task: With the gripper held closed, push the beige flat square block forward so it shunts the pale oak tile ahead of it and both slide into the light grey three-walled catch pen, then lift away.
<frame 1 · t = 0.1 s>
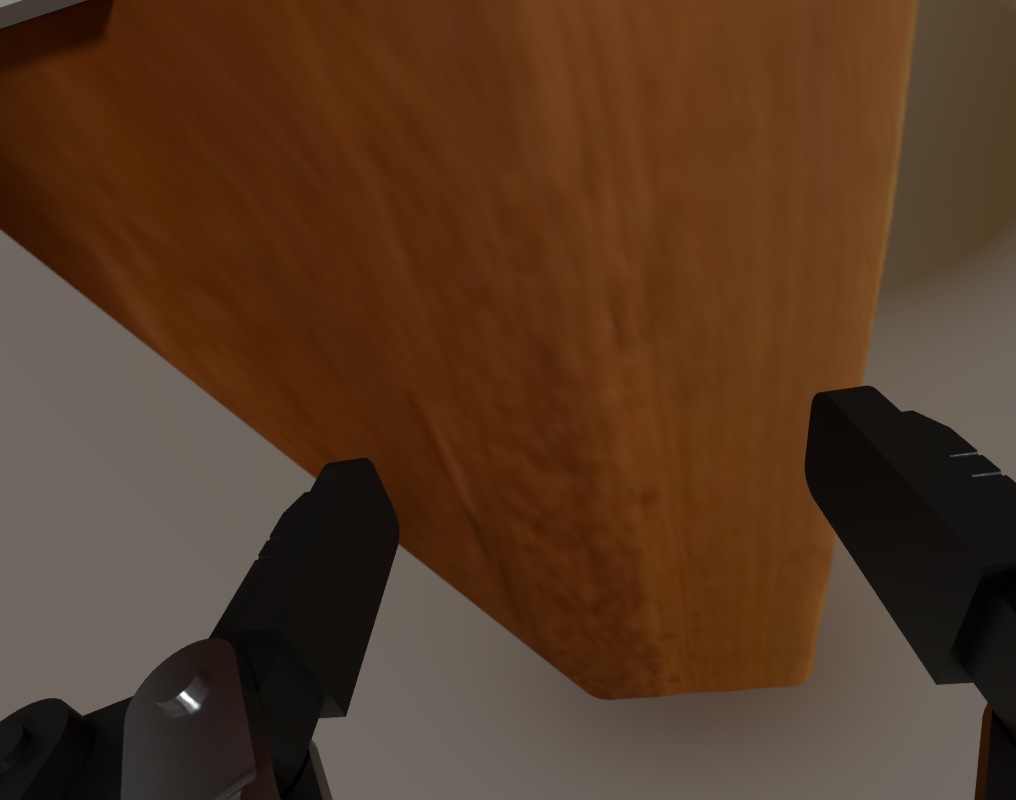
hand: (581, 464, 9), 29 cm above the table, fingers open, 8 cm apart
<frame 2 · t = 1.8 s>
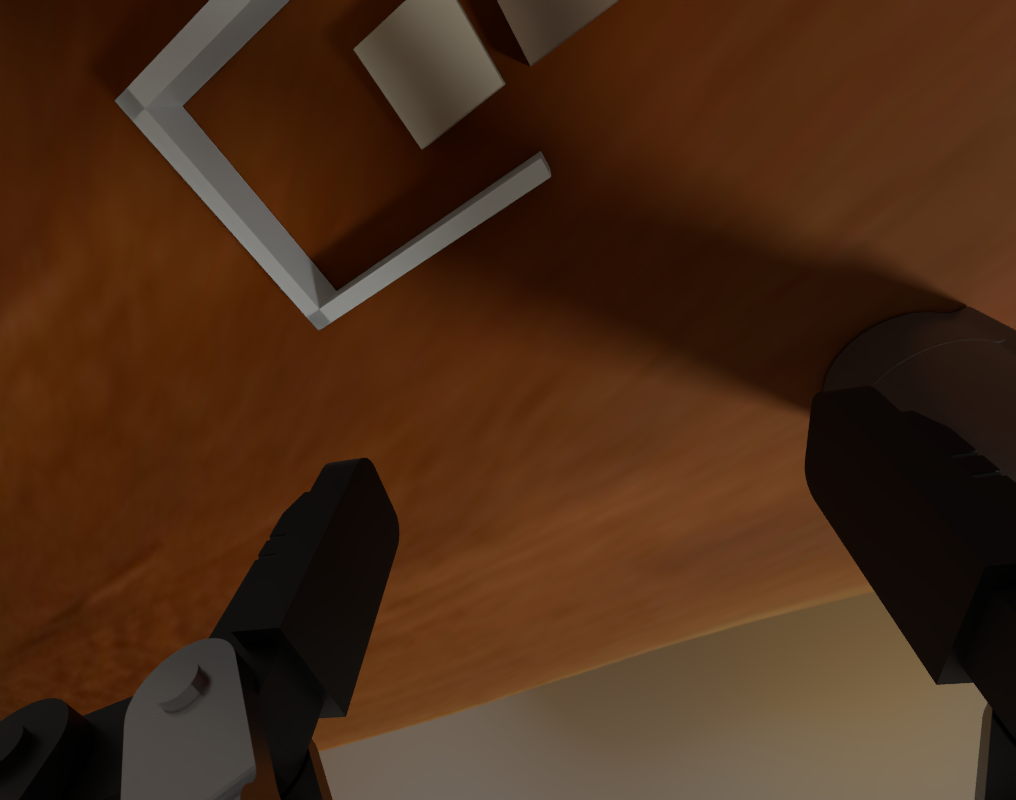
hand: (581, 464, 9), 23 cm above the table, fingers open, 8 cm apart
catch pen: (355, 134, 27), on the table
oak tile: (438, 68, 25), on the table
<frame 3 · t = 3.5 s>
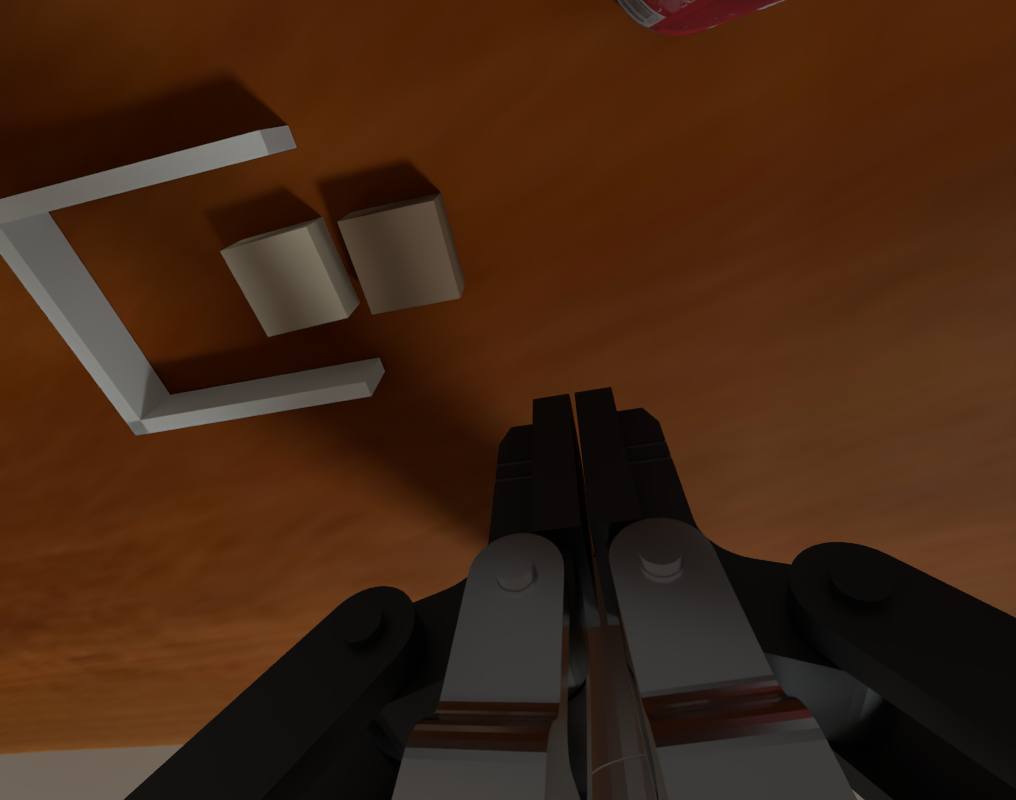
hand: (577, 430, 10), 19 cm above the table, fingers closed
beige flat square block: (411, 247, 28), on the table
catch pen: (216, 290, 29), on the table
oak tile: (304, 270, 29), on the table
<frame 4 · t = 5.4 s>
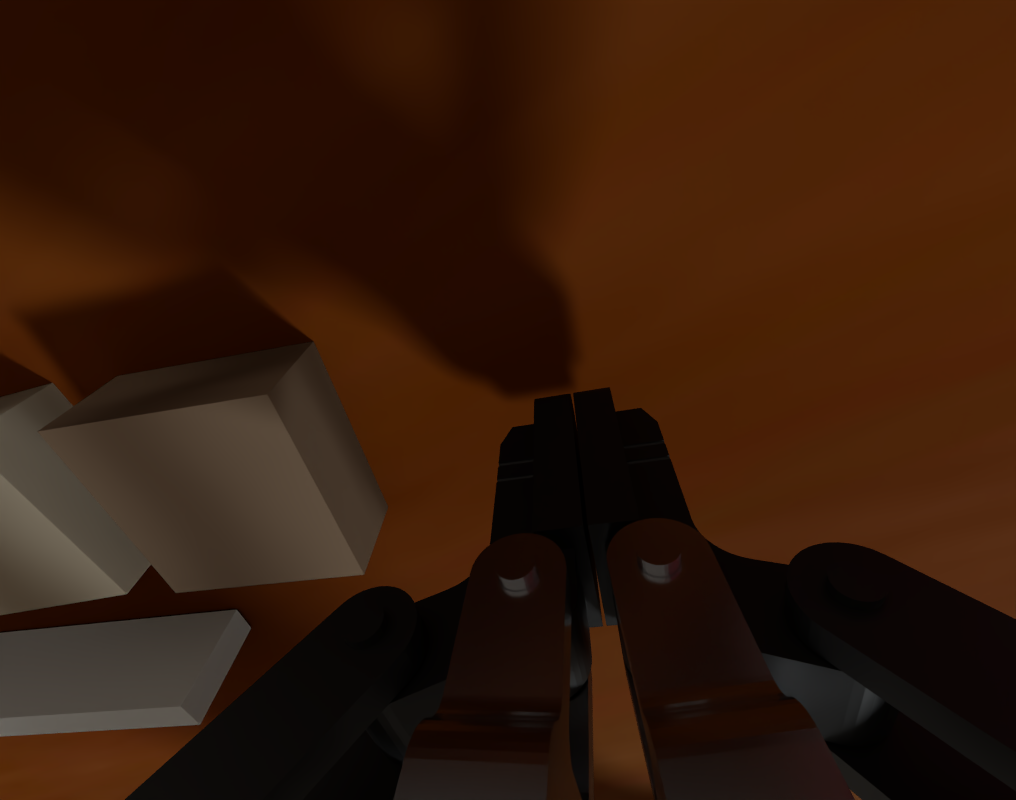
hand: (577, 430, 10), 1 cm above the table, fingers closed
beige flat square block: (267, 439, 13), on the table
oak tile: (56, 472, 14), on the table
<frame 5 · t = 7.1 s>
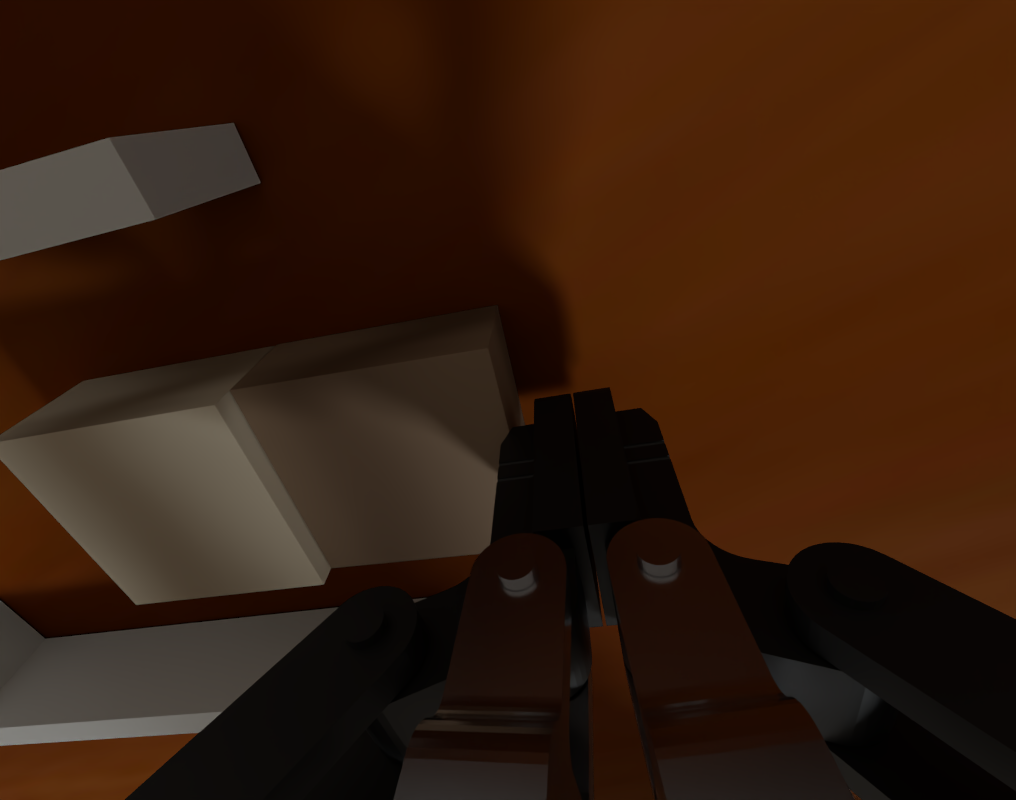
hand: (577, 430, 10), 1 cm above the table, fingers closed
beige flat square block: (422, 409, 12), on the table
catch pen: (103, 485, 14), on the table
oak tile: (229, 448, 13), on the table
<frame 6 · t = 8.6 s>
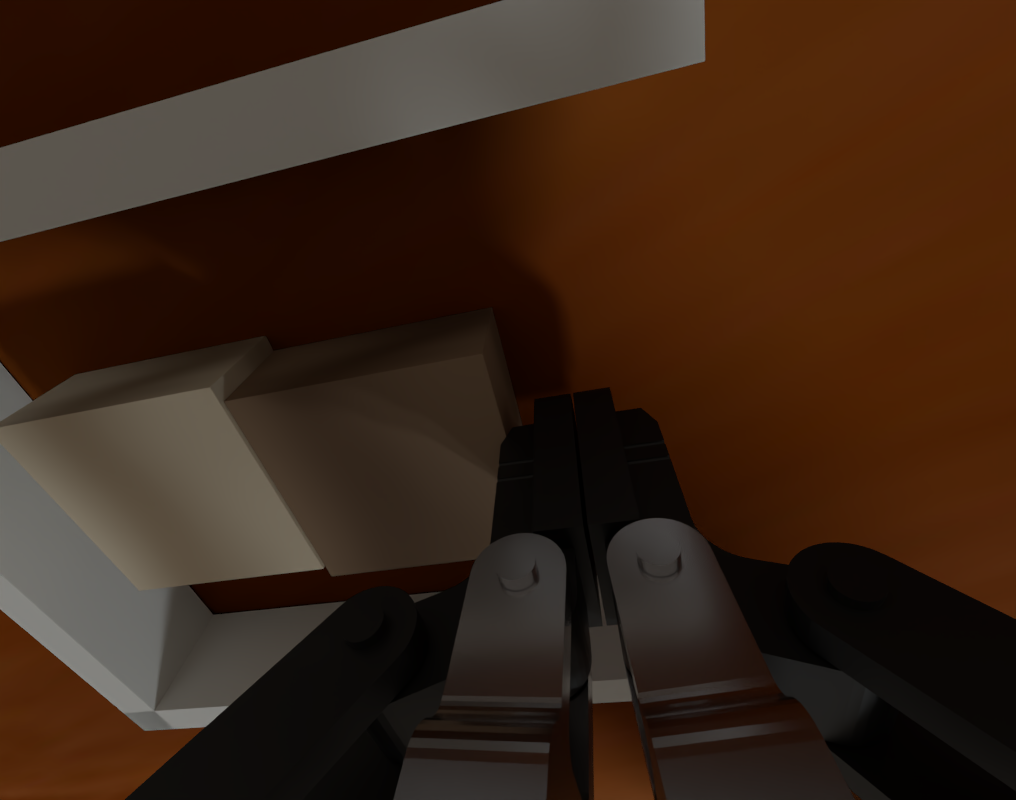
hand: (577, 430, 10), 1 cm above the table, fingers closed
beige flat square block: (419, 414, 12), on the table, touching gripper
catch pen: (337, 439, 12), on the table
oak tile: (229, 435, 13), on the table
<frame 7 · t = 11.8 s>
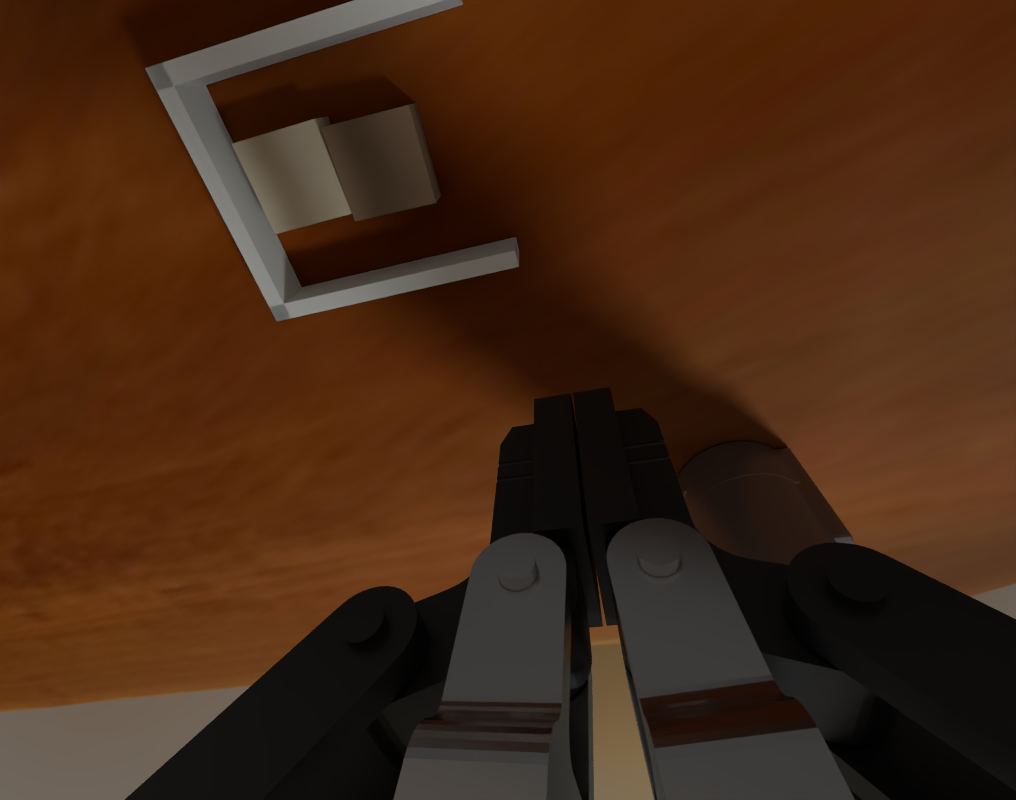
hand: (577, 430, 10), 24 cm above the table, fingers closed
beige flat square block: (390, 160, 30), on the table
catch pen: (363, 168, 30), on the table
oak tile: (309, 173, 31), on the table
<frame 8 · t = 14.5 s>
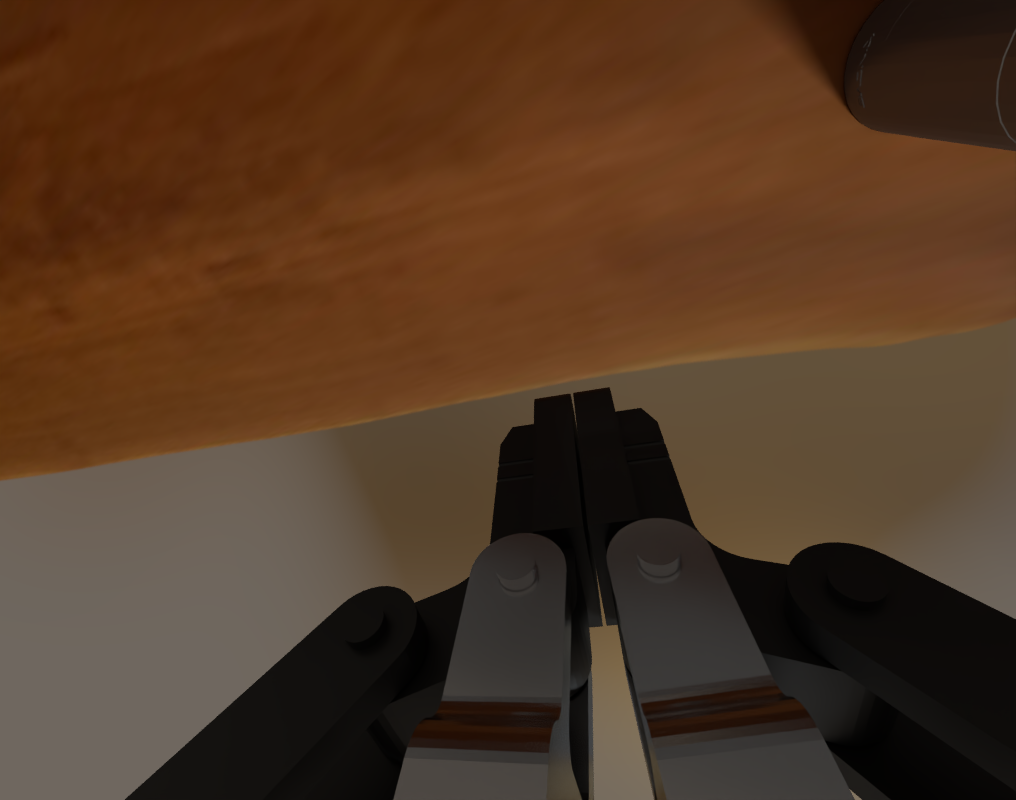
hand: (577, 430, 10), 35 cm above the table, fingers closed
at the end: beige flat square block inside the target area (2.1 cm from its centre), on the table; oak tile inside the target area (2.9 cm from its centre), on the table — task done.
